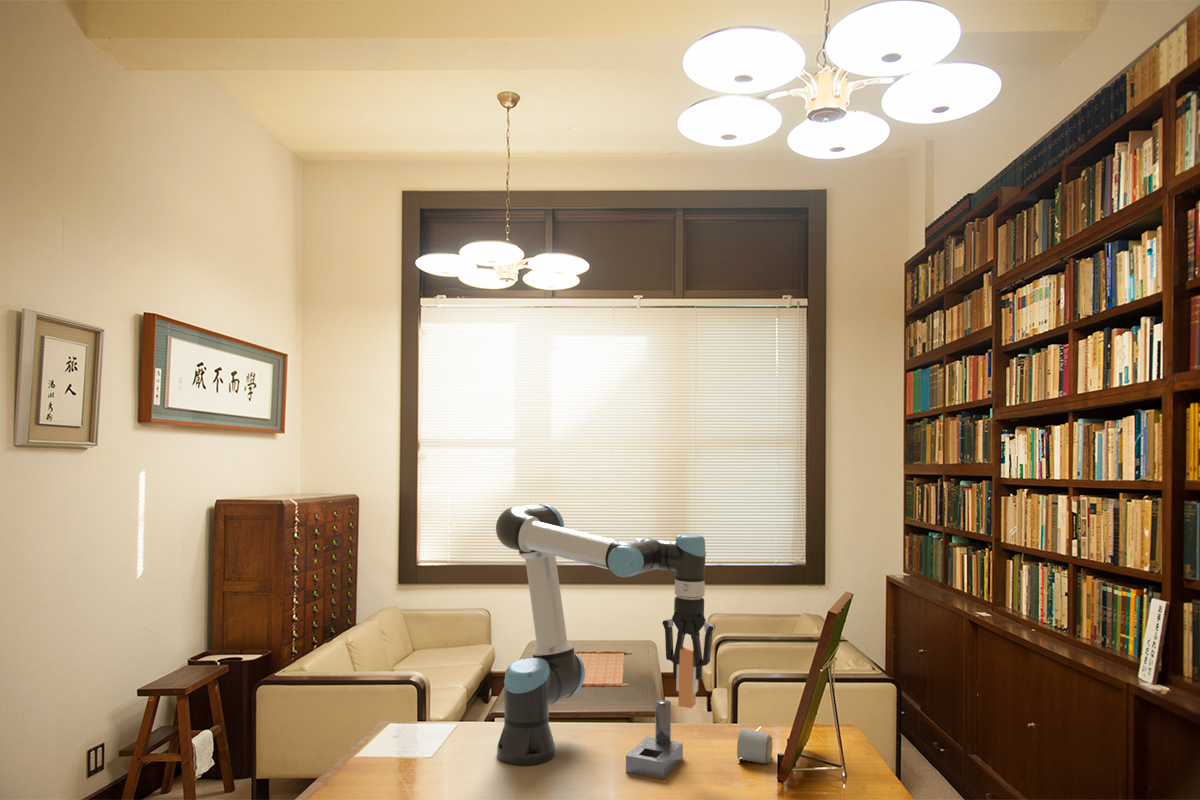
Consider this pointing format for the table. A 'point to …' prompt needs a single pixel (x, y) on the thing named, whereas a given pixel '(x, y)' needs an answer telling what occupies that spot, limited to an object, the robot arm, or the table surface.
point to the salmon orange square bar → (686, 677)
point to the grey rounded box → (754, 746)
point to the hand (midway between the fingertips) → (687, 690)
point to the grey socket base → (656, 747)
